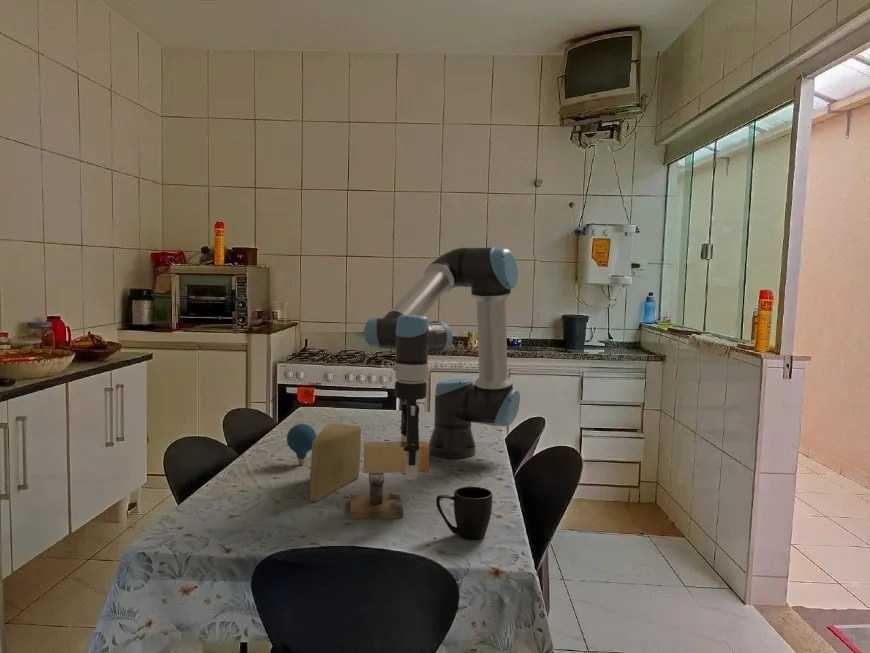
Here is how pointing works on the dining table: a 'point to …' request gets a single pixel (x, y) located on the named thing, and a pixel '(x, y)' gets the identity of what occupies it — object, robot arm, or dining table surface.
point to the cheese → (334, 459)
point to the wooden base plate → (376, 504)
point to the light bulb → (301, 440)
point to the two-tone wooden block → (391, 459)
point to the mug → (469, 511)
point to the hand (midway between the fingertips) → (408, 469)
